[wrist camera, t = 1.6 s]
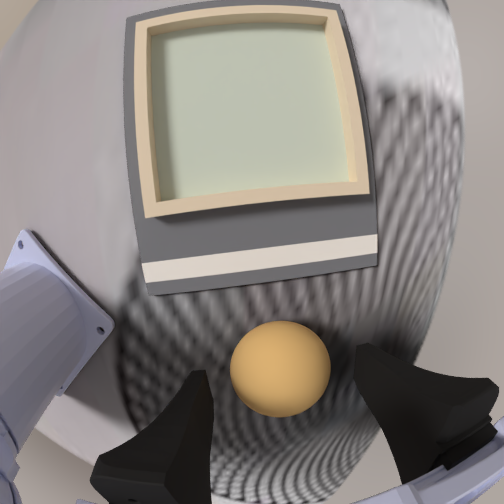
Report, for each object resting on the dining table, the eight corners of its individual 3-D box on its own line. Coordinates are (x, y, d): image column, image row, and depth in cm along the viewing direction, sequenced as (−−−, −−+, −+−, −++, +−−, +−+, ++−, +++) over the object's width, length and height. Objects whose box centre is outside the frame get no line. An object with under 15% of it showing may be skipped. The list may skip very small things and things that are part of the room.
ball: (270, 389, 16) (284, 447, 11) (211, 346, 15) (206, 406, 10) (331, 339, 15) (364, 390, 10) (275, 286, 14) (296, 333, 9)
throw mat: (374, 263, 14) (386, 270, 13) (150, 293, 14) (143, 303, 12) (337, 6, 11) (345, -4, 9) (128, 20, 10) (121, 9, 9)
